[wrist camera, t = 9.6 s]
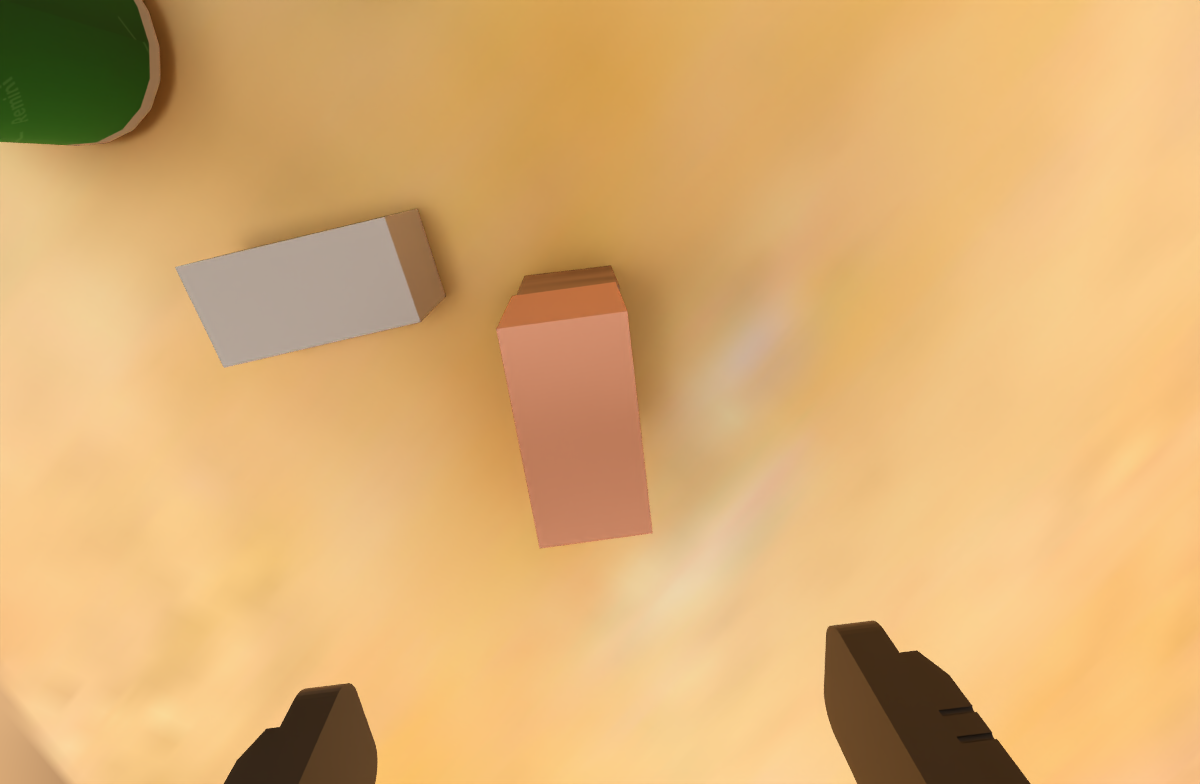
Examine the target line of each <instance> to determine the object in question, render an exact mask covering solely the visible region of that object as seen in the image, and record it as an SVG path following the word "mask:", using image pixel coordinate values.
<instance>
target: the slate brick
mask: <svg viewBox="0 0 1200 784" xmlns="http://www.w3.org/2000/svg"><path fill="white" fill-rule="evenodd" d="M175 268H176V270H177V272H178V274H179V276H180V278H181V281H182V283H183V285H184V287H185V289H186V291H187V293H188V295H189V297H190V299H191V301H192V303H193V305H194V307H195V309H196V311H197V313H198V316H199V318H200V320H201V322H202V324H203V326H204V328H205V330H206V332H207V334H208V336H209V338H210V340H211V342H212V344H213V346H214V349H215V351H216V353H217V355H218V357H219V359H220V361H221V363H222V365H223V367H229V366H233V365H237V364H242V363H246V362H250V361H255V360H259V359H263V358H267V357H272V356H276V355H280V354H285V353H289V352H293V351H298V350H302V349H306V348H311V347H315V346H319V345H323V344H328V343H332V342H336V341H341V340H345V339H349V338H354V337H358V336H362V335H367V334H371V333H375V332H380V331H384V330H388V329H392V328H397V327H401V326H405V325H410V324H414V323H418V322H421V321H422V320H423V319H424V318H425V317H426V316H427V315H428V314H429V313H430V312H431V311H432V310H433V309H434V308H435V307H436V306H437V305H438V304H439V303H440V302H441V301H442V300H443V299H444V298H445V297H446V296H445V293H444V290H443V286H442V283H441V280H440V277H439V274H438V271H437V268H436V265H435V262H434V259H433V255H432V252H431V249H430V246H429V243H428V240H427V237H426V234H425V231H424V228H423V224H422V221H421V218H420V215H419V212H418V209H414V210H410V211H405V212H401V213H397V214H393V215H389V216H384V217H380V218H376V219H372V220H368V221H364V222H359V223H355V224H351V225H347V226H343V227H338V228H334V229H330V230H326V231H322V232H318V233H313V234H309V235H305V236H301V237H297V238H292V239H288V240H284V241H280V242H276V243H272V244H267V245H263V246H259V247H255V248H251V249H246V250H242V251H238V252H234V253H230V254H226V255H222V256H218V257H214V258H210V259H206V260H202V261H198V262H194V263H190V264H186V265H182V266H178V267H175Z"/></svg>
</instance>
